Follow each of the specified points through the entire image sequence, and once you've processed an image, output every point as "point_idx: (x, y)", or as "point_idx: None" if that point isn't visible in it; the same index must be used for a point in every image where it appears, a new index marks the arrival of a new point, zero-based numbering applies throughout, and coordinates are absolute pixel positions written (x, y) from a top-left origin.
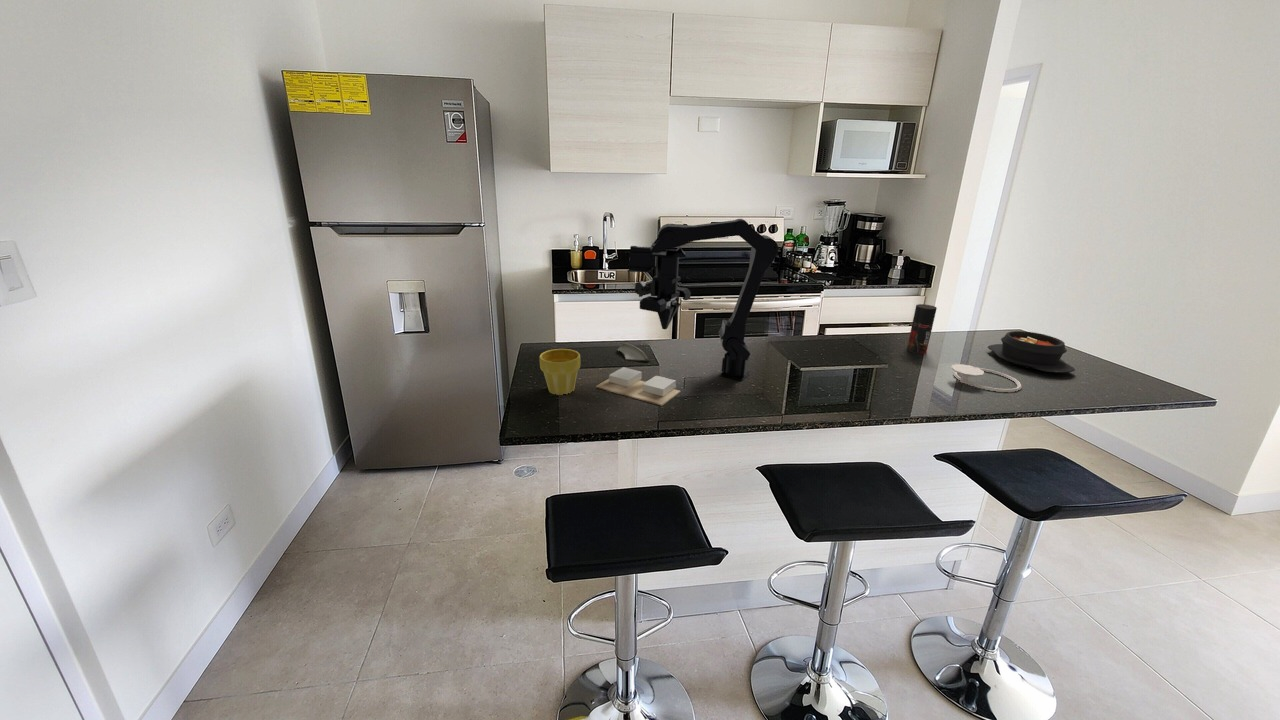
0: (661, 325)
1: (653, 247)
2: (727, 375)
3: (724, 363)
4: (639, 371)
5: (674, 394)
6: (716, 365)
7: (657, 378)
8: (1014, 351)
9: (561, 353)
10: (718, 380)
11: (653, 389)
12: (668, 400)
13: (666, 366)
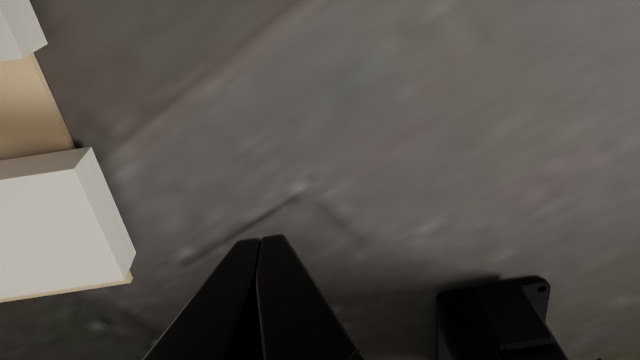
0: (212, 273)
1: None
2: (444, 322)
3: (483, 339)
4: (11, 40)
5: (73, 288)
6: (570, 211)
7: (47, 203)
8: None
9: None
10: (384, 308)
11: None
12: (8, 299)
13: (384, 6)
